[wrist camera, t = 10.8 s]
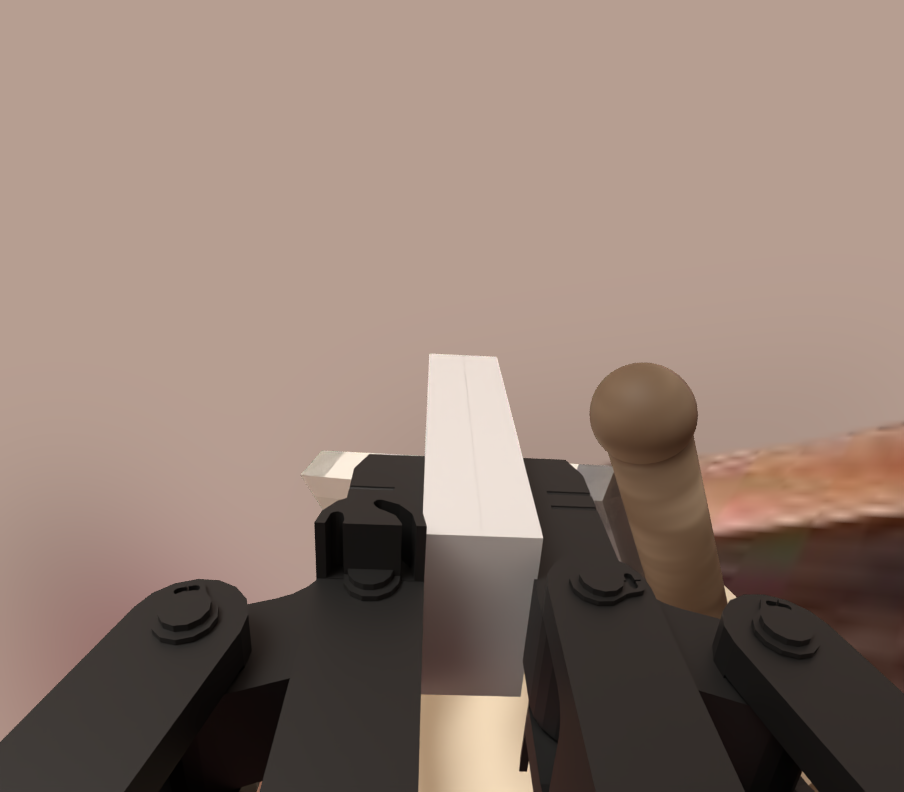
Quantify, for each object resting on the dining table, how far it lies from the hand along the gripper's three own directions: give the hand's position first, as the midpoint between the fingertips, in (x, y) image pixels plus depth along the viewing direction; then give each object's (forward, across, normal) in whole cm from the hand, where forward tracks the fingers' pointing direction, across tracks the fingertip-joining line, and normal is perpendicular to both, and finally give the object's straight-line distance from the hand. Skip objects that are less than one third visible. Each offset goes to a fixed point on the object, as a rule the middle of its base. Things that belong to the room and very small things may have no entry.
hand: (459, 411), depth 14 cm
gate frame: (+11, +8, -21) cm, 25 cm away
